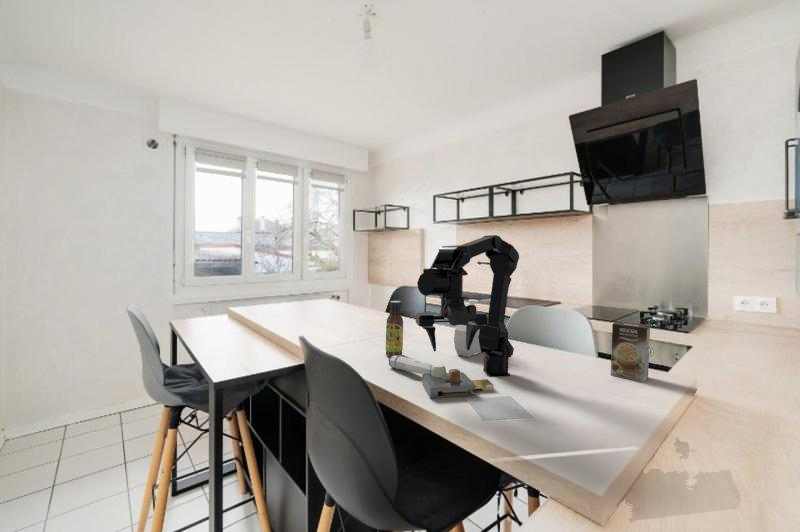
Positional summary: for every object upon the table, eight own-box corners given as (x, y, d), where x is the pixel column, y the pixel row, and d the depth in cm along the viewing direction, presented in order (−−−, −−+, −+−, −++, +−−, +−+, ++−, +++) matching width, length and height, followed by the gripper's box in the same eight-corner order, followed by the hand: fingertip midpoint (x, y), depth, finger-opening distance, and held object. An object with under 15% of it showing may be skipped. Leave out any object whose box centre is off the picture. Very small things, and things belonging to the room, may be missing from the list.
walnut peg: (459, 390, 98) (459, 369, 97) (460, 395, 95) (460, 372, 94) (448, 390, 98) (448, 368, 98) (448, 394, 95) (448, 372, 95)
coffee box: (609, 375, 110) (610, 323, 109) (614, 370, 114) (615, 320, 114) (645, 382, 104) (646, 327, 103) (649, 377, 108) (650, 324, 108)
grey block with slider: (483, 382, 103) (483, 371, 103) (497, 396, 94) (497, 383, 93) (422, 386, 101) (422, 374, 101) (430, 400, 91) (430, 387, 91)
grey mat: (510, 397, 93) (510, 395, 93) (533, 419, 81) (533, 416, 81) (465, 400, 91) (465, 398, 91) (483, 422, 79) (483, 420, 79)
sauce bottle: (383, 356, 129) (382, 301, 128) (389, 352, 135) (389, 299, 134) (399, 358, 127) (399, 302, 126) (405, 353, 133) (405, 300, 132)
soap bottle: (466, 359, 126) (466, 303, 126) (453, 356, 130) (453, 301, 129) (488, 350, 138) (489, 298, 137) (476, 347, 142) (476, 297, 141)
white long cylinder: (399, 353, 120) (452, 361, 100) (400, 373, 119) (454, 386, 99) (386, 356, 116) (438, 365, 97) (387, 376, 116) (440, 390, 96)
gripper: (423, 297, 87) (423, 360, 87) (497, 295, 89) (496, 357, 90) (415, 292, 98) (415, 348, 98) (481, 291, 100) (480, 346, 101)
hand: (451, 350), depth 96 cm, fingers open, 9 cm apart
